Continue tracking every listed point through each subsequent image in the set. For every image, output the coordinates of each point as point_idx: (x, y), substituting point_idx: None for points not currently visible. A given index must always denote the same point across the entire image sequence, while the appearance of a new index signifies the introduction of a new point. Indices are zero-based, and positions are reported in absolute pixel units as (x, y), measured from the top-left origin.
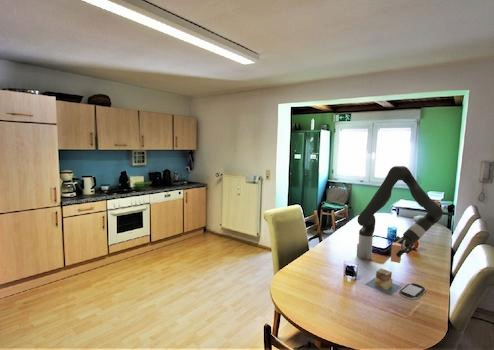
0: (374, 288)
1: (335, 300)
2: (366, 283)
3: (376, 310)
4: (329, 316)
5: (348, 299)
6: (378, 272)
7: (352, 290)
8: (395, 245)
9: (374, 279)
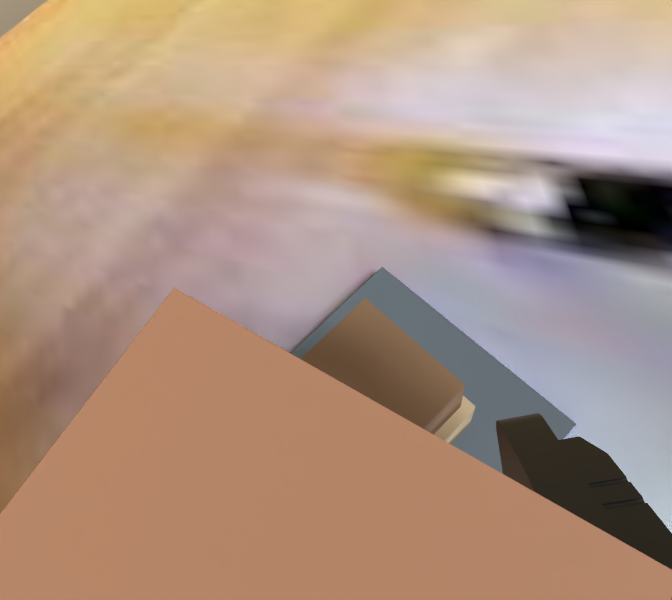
0: (321, 328)
1: (196, 94)
2: (403, 288)
3: (81, 269)
4: (78, 70)
5: (201, 150)
6: (347, 317)
7: (305, 184)
8: (66, 461)
9: (503, 383)
